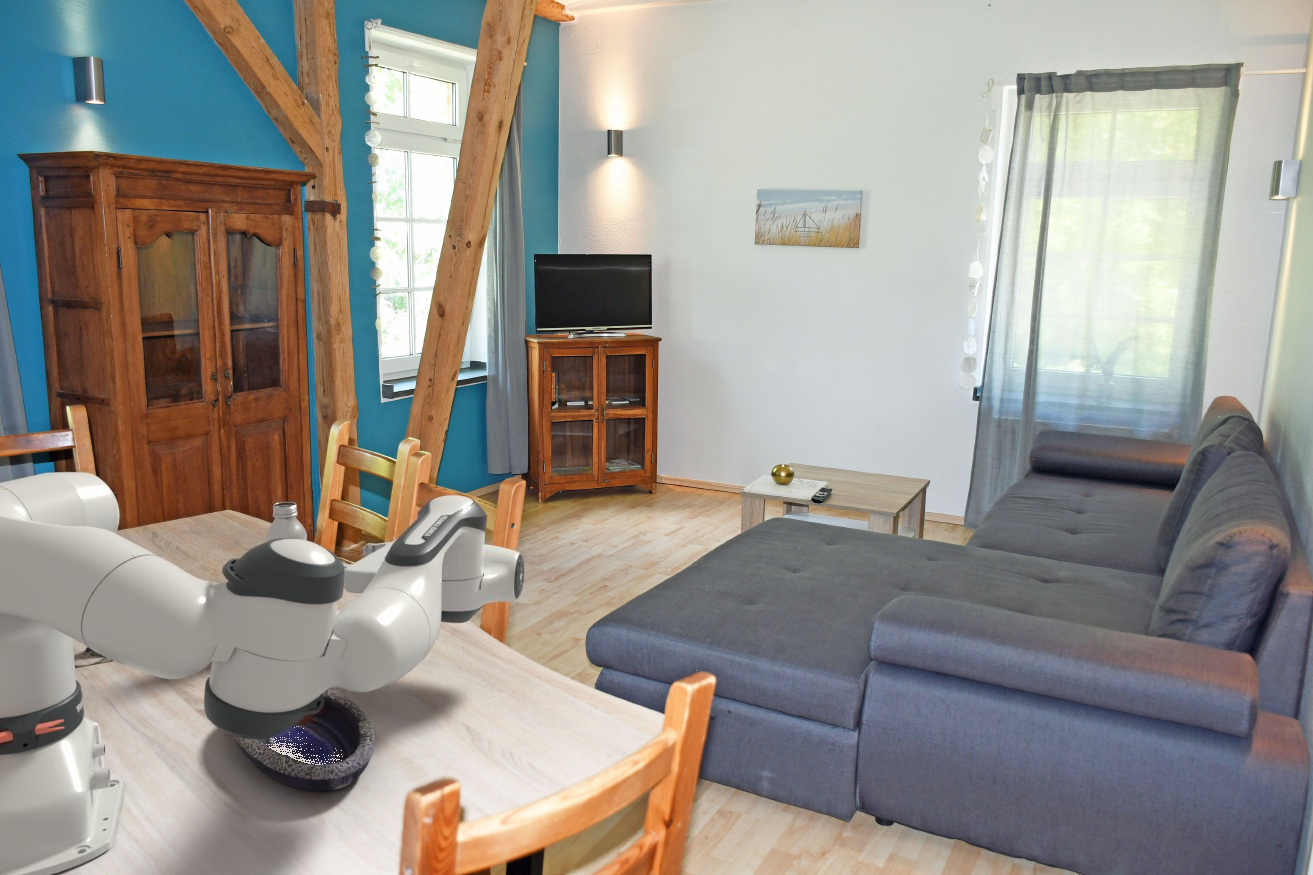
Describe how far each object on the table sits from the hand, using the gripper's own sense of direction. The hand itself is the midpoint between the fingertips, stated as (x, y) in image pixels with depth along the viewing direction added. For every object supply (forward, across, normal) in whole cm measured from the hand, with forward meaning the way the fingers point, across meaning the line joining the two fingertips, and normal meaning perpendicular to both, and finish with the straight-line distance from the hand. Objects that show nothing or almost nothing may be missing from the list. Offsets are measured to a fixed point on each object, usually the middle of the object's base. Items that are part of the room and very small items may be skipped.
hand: (349, 557), depth 157 cm
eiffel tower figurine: (+37, -12, -16) cm, 42 cm away
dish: (-10, -30, -16) cm, 36 cm away
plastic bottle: (+11, 0, -12) cm, 17 cm away
